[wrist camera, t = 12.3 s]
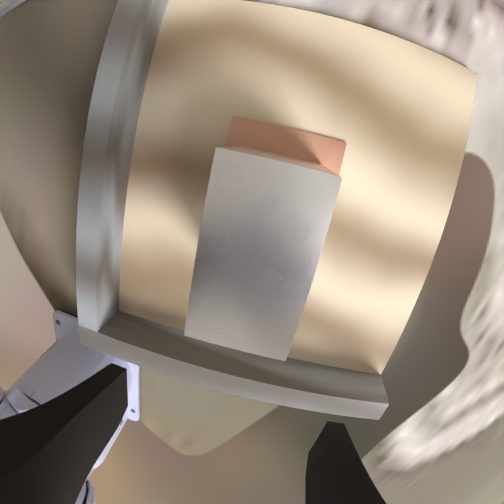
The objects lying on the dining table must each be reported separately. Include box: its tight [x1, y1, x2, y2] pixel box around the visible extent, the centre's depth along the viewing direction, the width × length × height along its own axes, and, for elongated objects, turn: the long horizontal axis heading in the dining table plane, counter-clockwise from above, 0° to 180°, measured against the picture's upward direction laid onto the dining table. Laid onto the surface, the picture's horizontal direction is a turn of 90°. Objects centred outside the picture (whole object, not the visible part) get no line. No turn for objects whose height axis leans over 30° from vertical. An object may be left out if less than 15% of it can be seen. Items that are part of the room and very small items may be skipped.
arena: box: [76, 0, 478, 420], centre depth 16 cm, size 22×20×4 cm
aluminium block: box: [184, 147, 342, 361], centre depth 14 cm, size 4×7×7 cm, turn 169°
